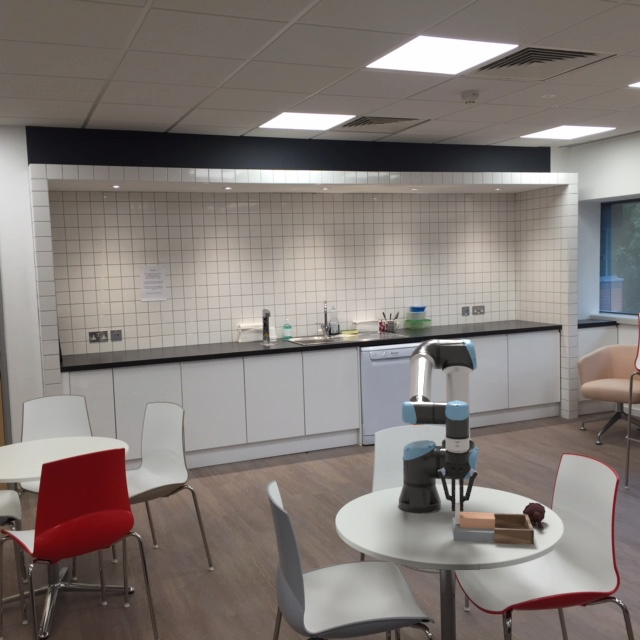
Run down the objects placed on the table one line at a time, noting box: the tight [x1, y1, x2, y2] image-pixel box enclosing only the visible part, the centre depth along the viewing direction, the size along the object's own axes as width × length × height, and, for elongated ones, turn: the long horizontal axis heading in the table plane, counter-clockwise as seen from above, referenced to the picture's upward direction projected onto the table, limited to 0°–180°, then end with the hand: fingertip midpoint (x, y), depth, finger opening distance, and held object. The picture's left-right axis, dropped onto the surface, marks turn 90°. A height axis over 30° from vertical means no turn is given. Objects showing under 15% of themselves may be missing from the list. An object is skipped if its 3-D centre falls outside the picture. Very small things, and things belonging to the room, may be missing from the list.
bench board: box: [451, 516, 494, 543], centre depth 228 cm, size 12×12×3 cm
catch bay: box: [493, 512, 535, 546], centre depth 226 cm, size 14×12×4 cm
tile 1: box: [460, 511, 478, 528], centre depth 228 cm, size 6×6×3 cm
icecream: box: [522, 502, 546, 530], centre depth 237 cm, size 7×7×15 cm
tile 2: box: [476, 511, 496, 530], centre depth 227 cm, size 6×6×3 cm
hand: (457, 520), depth 228 cm, fingers closed
